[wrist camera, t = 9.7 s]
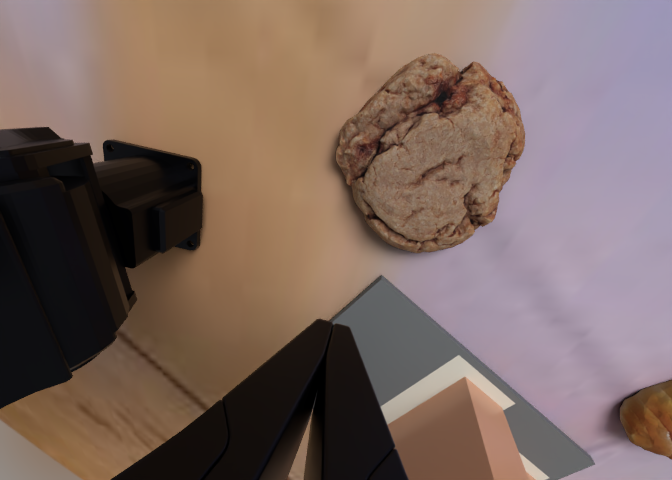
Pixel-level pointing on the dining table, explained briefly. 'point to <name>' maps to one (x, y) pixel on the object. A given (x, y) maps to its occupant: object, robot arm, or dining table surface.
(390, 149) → the cookie
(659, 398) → the pastry
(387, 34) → the dining table surface
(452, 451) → the tee
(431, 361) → the board
